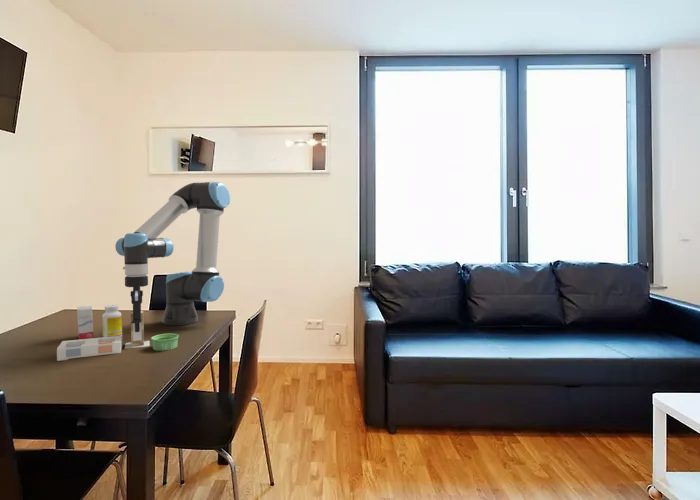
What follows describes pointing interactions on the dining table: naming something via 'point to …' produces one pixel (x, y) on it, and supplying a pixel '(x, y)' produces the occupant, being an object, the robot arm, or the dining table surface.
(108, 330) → the supplement bottle
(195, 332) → the dining table surface
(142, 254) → the robot arm
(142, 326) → the oak peg
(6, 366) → the dining table surface
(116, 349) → the socket board
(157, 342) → the ramekin
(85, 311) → the ink box
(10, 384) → the dining table surface
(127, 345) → the mat
